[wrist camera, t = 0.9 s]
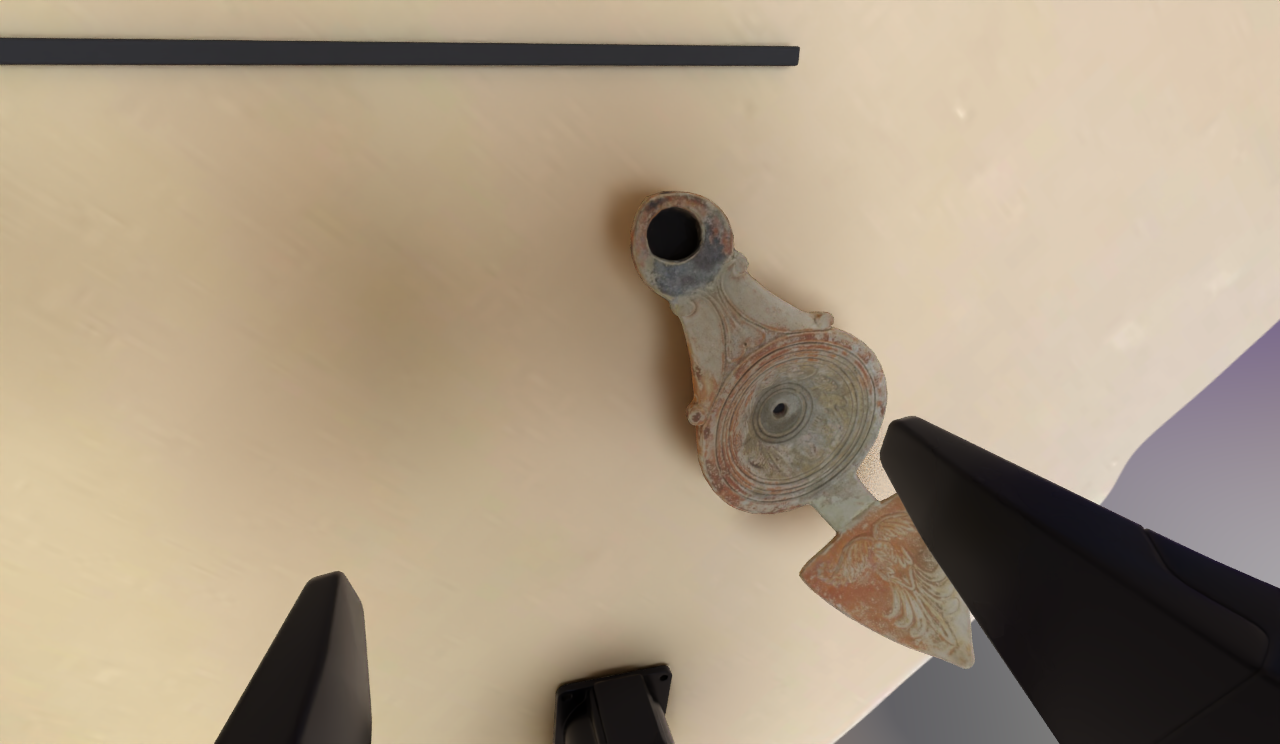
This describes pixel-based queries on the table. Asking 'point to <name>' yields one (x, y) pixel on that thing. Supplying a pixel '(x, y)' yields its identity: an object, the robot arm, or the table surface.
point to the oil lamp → (794, 425)
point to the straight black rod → (377, 53)
